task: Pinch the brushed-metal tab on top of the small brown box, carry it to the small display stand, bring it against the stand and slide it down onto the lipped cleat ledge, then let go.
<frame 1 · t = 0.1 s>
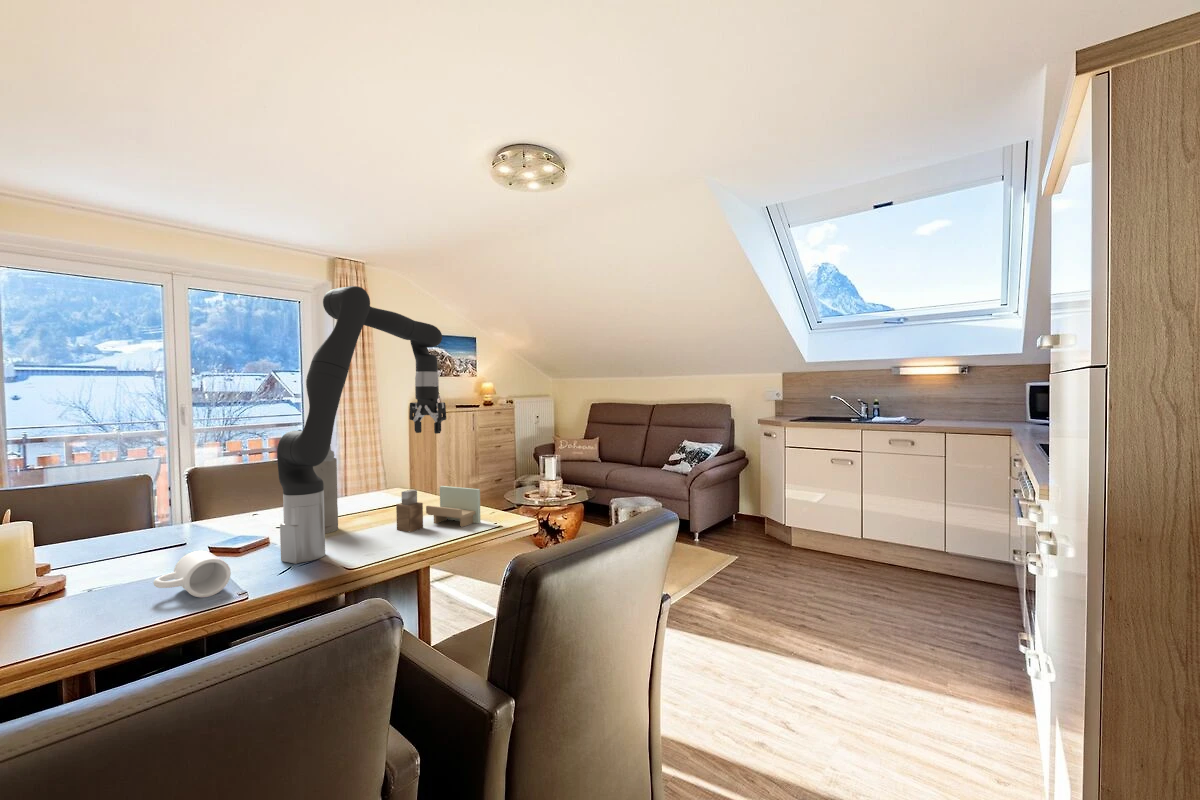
hand: (427, 433, 174), 29 cm above the table, fingers open, 8 cm apart
small display stand: (460, 520, 171), on the table
thermos bottle: (324, 531, 161), on the table
brown box: (410, 528, 161), on the table
mug: (191, 595, 111), on the table
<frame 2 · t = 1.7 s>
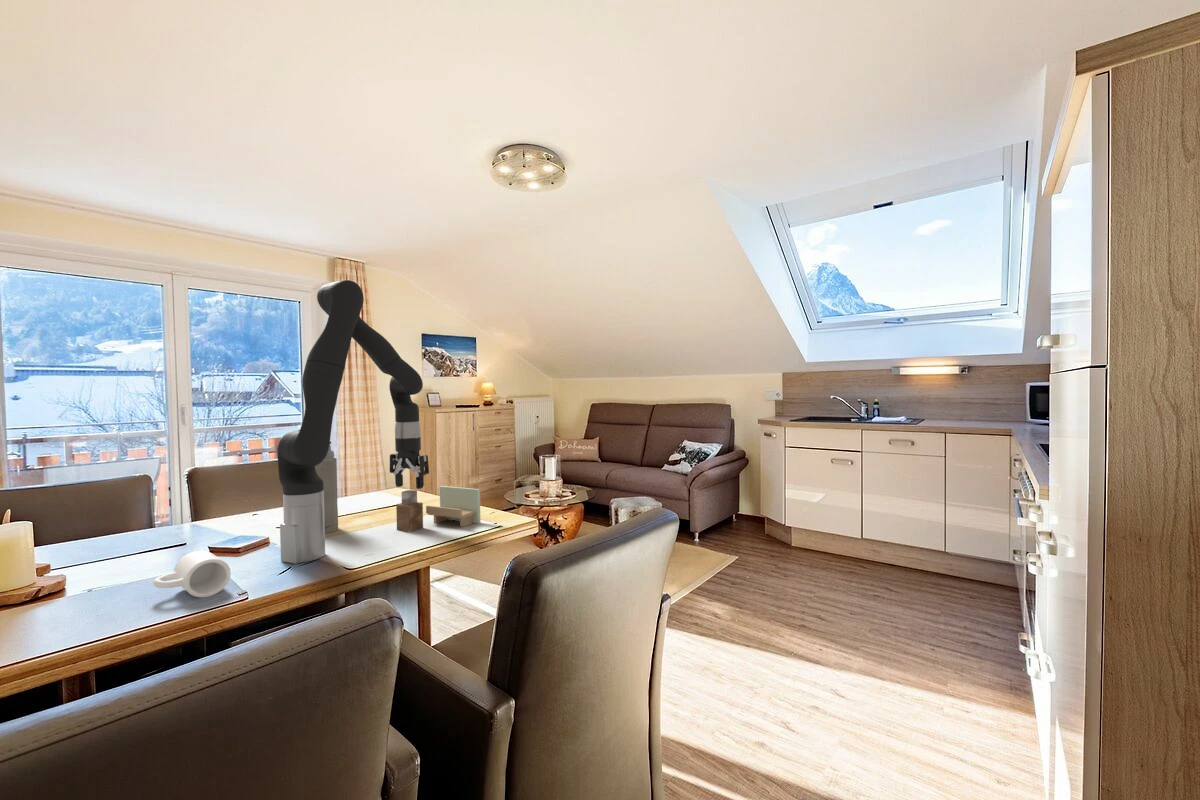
hand: (409, 487, 161), 13 cm above the table, fingers open, 8 cm apart
nothing on the table moved.
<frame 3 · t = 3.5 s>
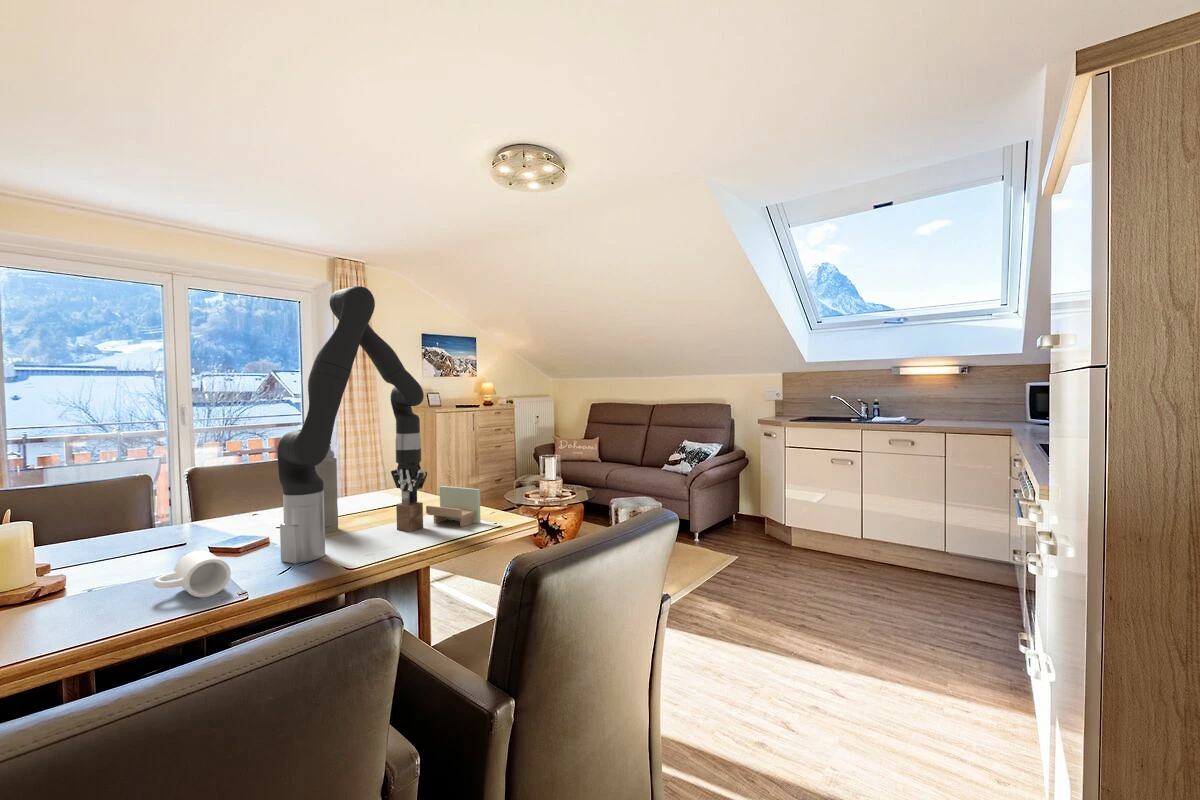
hand: (409, 502, 161), 8 cm above the table, fingers closed on brown box, 2 cm apart
brown box: (410, 528, 161), on the table, touching gripper
everything else where it was.
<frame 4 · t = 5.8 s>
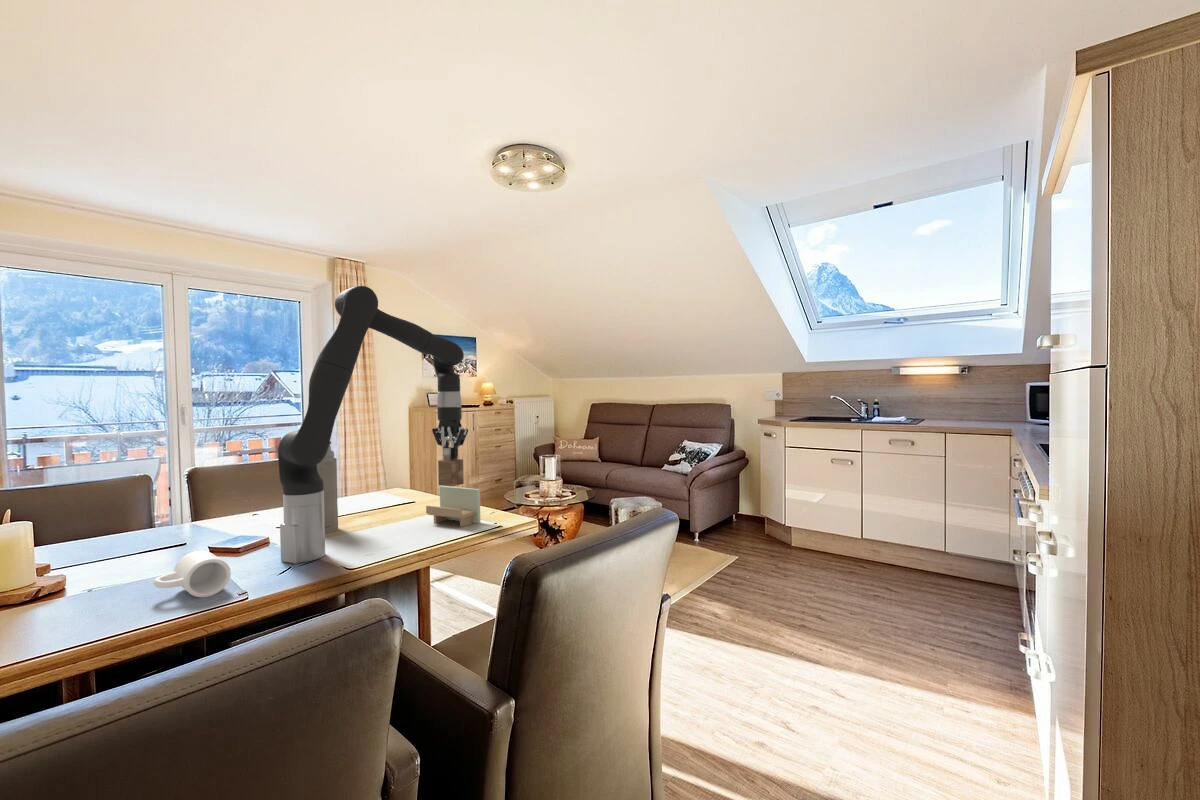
hand: (450, 458, 167), 21 cm above the table, fingers closed on brown box, 2 cm apart
brown box: (451, 484, 167), point 13 cm above the table, touching gripper
everything else where it was.
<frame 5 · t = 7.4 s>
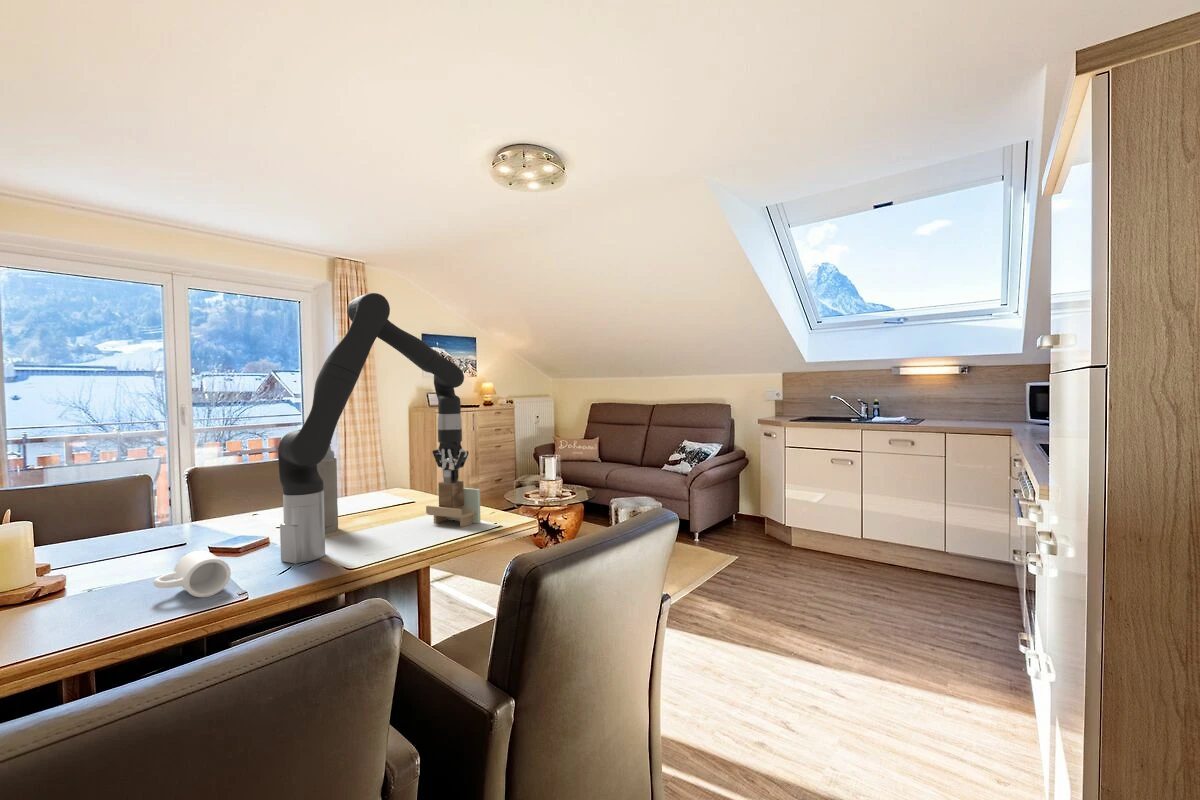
hand: (450, 480, 167), 14 cm above the table, fingers closed on brown box, 2 cm apart
brown box: (451, 506, 167), point 6 cm above the table, touching gripper
everything else where it was.
when the fingers open (13 cm above the table, at t = 8.4 s): brown box stays where it is, resting on small display stand.
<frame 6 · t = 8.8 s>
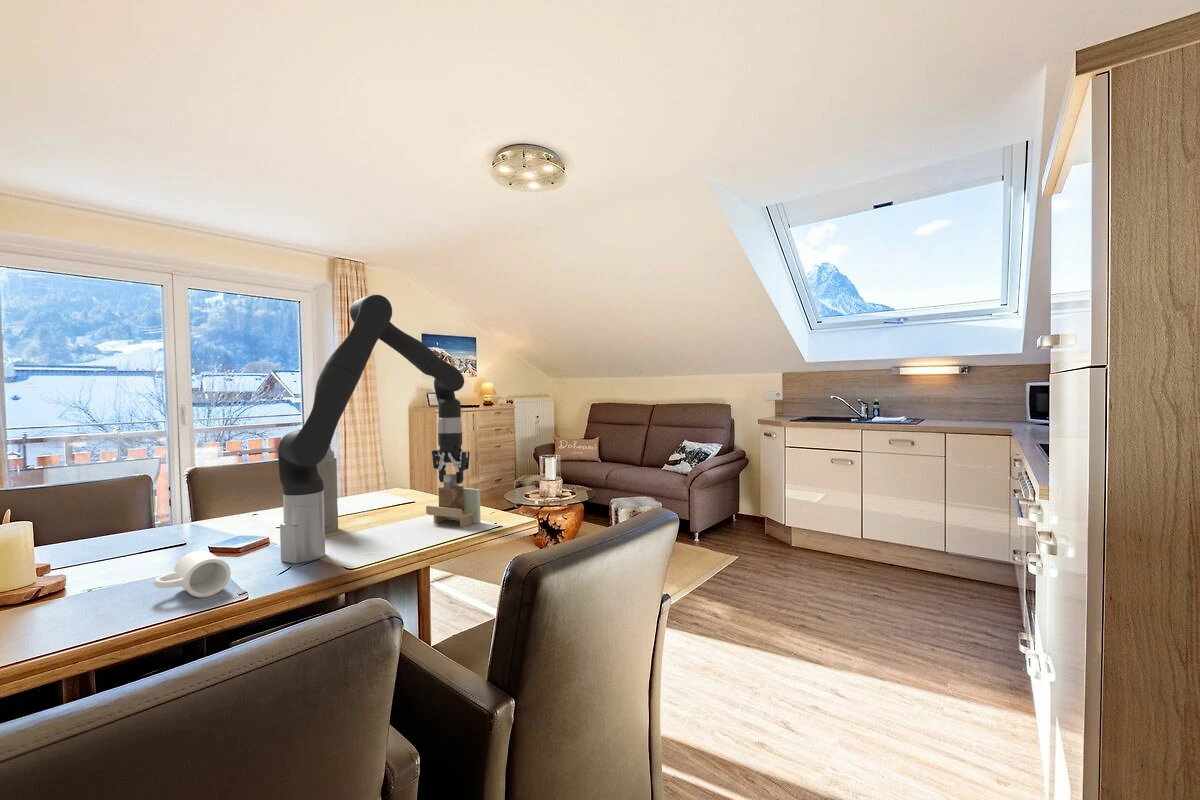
hand: (451, 482, 167), 13 cm above the table, fingers open, 6 cm apart
brown box: (451, 511, 167), point 4 cm above the table, touching small display stand
everything else where it was.
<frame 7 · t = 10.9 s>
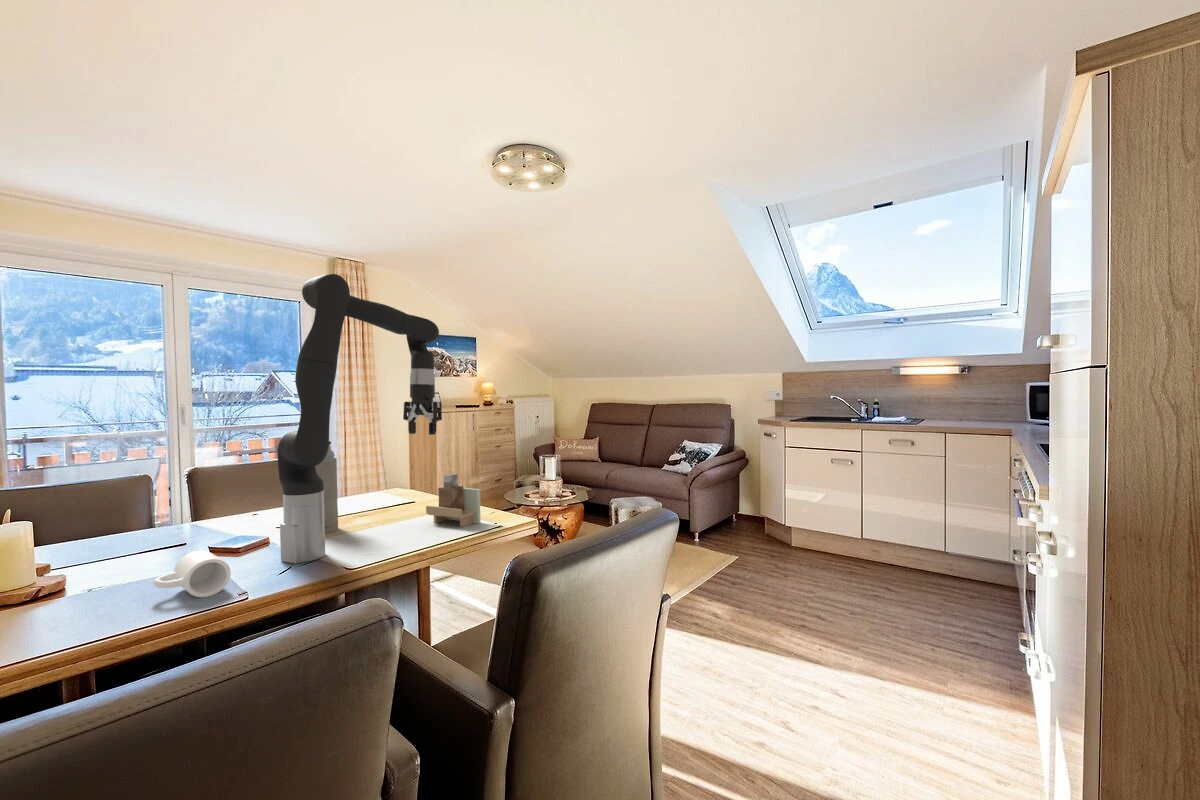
hand: (422, 434, 164), 30 cm above the table, fingers open, 8 cm apart
nothing on the table moved.
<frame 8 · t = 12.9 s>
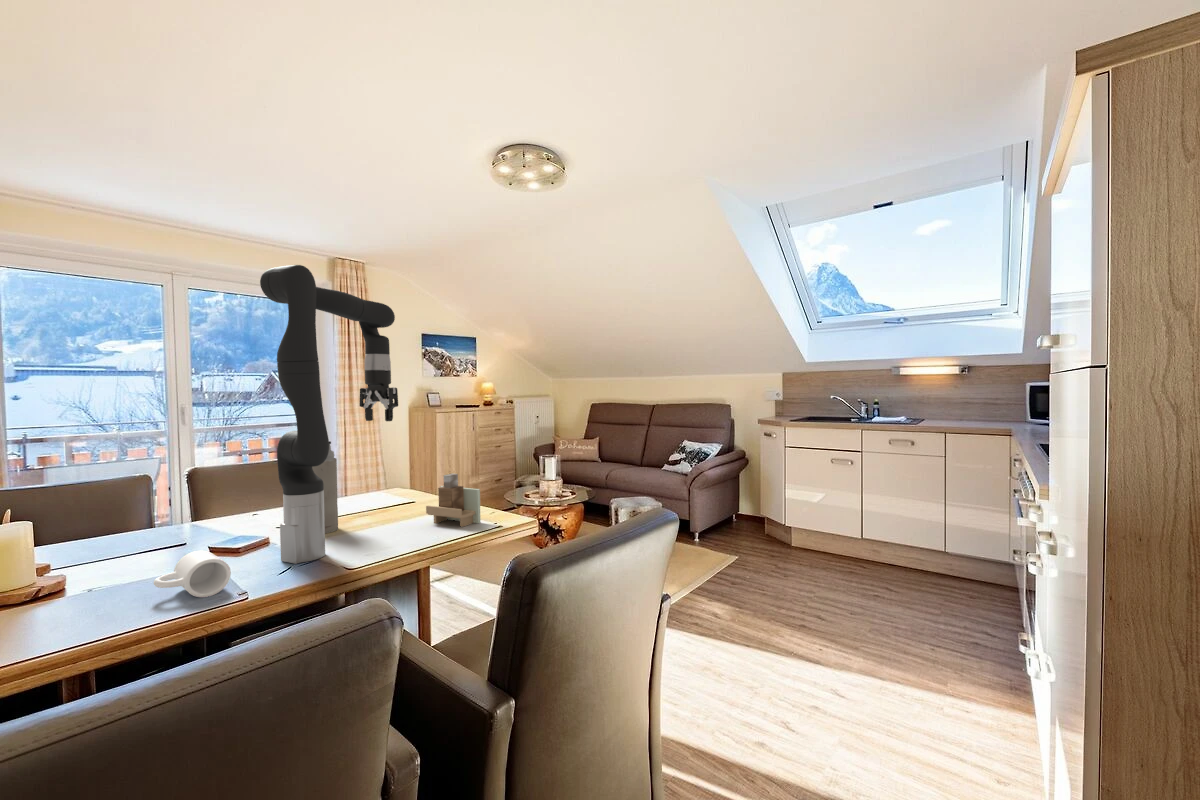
hand: (379, 421, 161), 34 cm above the table, fingers open, 8 cm apart
nothing on the table moved.
at the end: brown box inside the target area on the small display stand (0.1 cm from its centre), point 4.0 cm above the small display stand's base; brown box tilted 0°; the gripper is holding nothing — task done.
